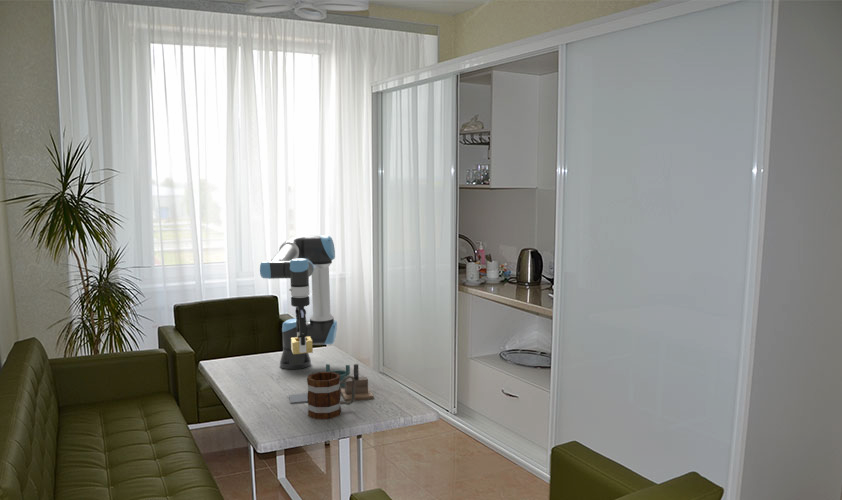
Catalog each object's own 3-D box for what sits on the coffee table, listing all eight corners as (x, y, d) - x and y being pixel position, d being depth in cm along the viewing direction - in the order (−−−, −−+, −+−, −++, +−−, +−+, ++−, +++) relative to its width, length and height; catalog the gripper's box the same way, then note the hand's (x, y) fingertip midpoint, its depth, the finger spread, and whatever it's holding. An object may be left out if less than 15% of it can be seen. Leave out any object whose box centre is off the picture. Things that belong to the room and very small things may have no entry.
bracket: (351, 384, 296) (351, 365, 296) (332, 388, 292) (331, 368, 291) (343, 379, 304) (342, 360, 303) (324, 383, 300) (324, 363, 299)
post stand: (340, 391, 287) (339, 361, 286) (367, 388, 291) (366, 359, 289) (345, 401, 274) (344, 370, 273) (373, 398, 277) (373, 368, 276)
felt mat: (288, 396, 281) (288, 394, 281) (312, 393, 284) (312, 392, 284) (290, 403, 272) (290, 402, 272) (315, 401, 275) (315, 400, 275)
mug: (312, 421, 252) (311, 383, 250) (303, 410, 264) (302, 374, 262) (361, 414, 259) (360, 376, 258) (350, 403, 272) (350, 367, 270)
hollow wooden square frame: (291, 349, 279) (290, 337, 278) (310, 347, 281) (310, 336, 280) (293, 354, 271) (292, 342, 271) (312, 352, 273) (312, 340, 273)
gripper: (288, 292, 282) (290, 344, 285) (293, 301, 262) (295, 356, 265) (306, 291, 284) (307, 343, 287) (312, 299, 265) (314, 355, 267)
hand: (301, 349), depth 276 cm, fingers closed on hollow wooden square frame, 8 cm apart
